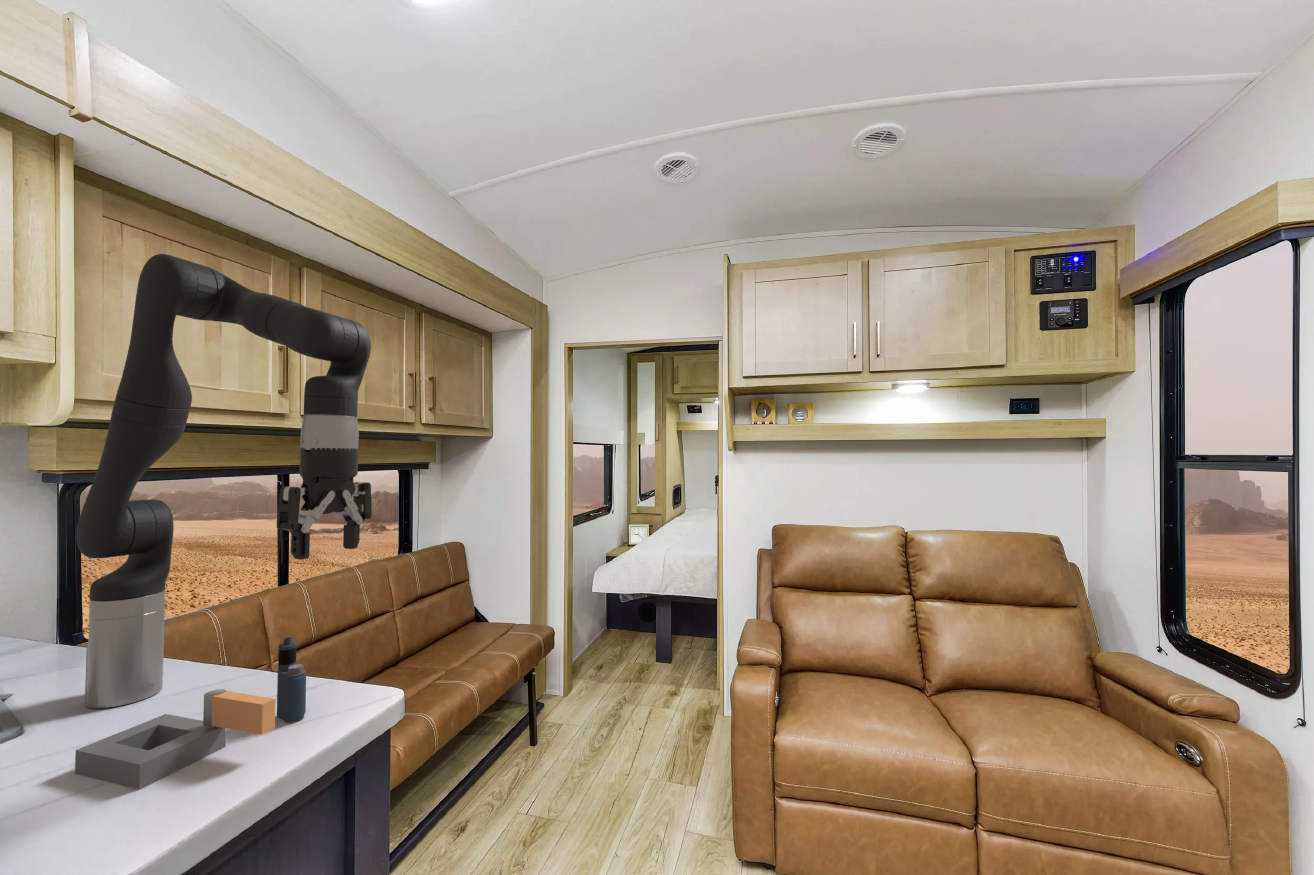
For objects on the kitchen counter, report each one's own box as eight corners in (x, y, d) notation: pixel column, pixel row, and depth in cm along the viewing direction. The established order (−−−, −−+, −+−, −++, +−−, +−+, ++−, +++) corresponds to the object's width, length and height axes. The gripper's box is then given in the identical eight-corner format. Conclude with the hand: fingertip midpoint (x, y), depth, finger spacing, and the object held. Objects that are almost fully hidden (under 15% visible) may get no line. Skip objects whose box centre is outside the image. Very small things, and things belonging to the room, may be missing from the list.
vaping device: (291, 710, 86) (292, 634, 86) (308, 718, 83) (309, 640, 84) (273, 717, 84) (274, 639, 84) (290, 725, 81) (291, 645, 81)
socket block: (74, 773, 69) (75, 748, 69) (167, 733, 79) (168, 711, 79) (139, 789, 65) (140, 763, 66) (227, 745, 75) (228, 722, 75)
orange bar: (198, 724, 74) (199, 695, 74) (217, 716, 77) (217, 688, 77) (259, 736, 71) (260, 705, 71) (276, 727, 73) (277, 697, 74)
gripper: (349, 446, 89) (346, 544, 88) (265, 445, 75) (261, 560, 75) (386, 447, 87) (383, 547, 86) (306, 445, 73) (303, 564, 73)
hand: (326, 553), depth 81 cm, fingers open, 8 cm apart
